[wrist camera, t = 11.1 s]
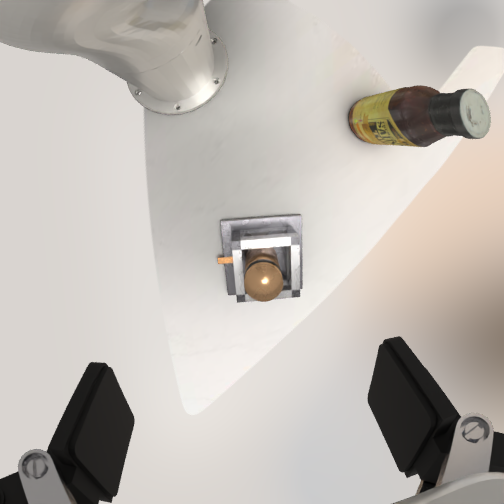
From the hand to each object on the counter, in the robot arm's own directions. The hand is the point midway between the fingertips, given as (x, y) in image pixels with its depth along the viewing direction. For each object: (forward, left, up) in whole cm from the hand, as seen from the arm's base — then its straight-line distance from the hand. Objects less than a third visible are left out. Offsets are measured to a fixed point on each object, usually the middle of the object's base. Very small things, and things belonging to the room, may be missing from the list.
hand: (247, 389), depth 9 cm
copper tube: (+6, +3, -29) cm, 30 cm away
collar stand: (+6, +3, -30) cm, 31 cm away
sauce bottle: (-11, +18, -30) cm, 37 cm away
